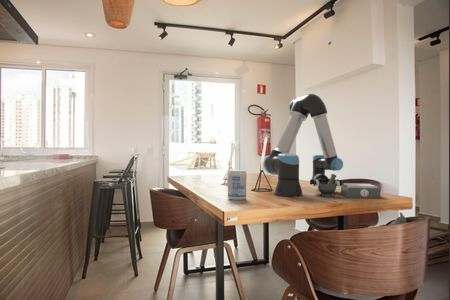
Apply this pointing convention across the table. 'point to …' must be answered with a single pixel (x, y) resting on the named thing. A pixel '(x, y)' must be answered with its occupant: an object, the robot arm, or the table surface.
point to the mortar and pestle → (328, 187)
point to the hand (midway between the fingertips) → (328, 183)
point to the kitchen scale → (360, 190)
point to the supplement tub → (237, 184)
